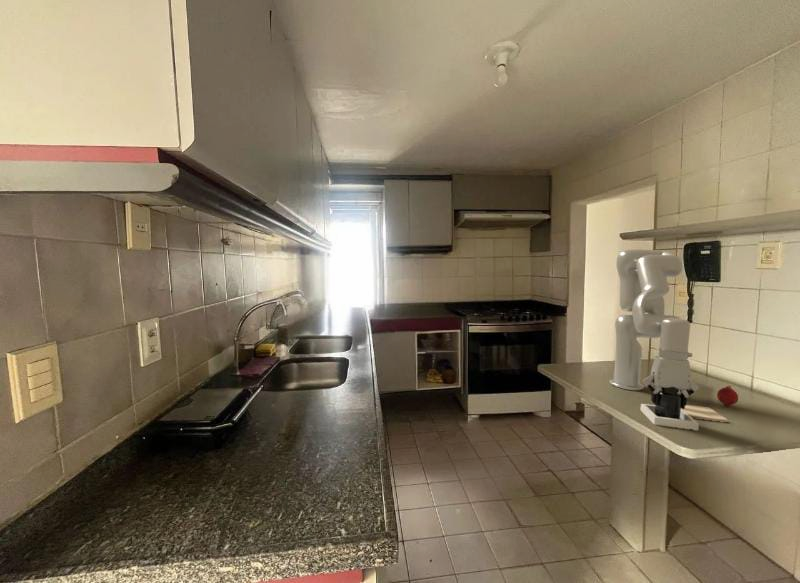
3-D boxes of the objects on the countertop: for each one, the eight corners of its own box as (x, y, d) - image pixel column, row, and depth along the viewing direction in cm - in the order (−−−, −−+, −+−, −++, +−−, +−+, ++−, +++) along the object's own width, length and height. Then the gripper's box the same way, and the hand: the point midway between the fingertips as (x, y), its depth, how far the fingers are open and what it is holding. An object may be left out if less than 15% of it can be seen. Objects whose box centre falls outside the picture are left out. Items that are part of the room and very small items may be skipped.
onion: (732, 410, 126) (734, 389, 125) (713, 404, 131) (715, 384, 130) (740, 407, 128) (742, 387, 127) (721, 402, 133) (723, 382, 133)
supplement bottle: (684, 424, 112) (687, 389, 111) (661, 422, 114) (664, 387, 113) (672, 415, 119) (675, 382, 118) (650, 413, 120) (653, 380, 119)
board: (670, 405, 129) (670, 402, 128) (709, 410, 125) (709, 407, 125) (685, 417, 118) (685, 414, 118) (727, 422, 115) (728, 420, 114)
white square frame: (640, 410, 123) (641, 403, 123) (679, 415, 120) (680, 408, 120) (654, 424, 112) (654, 417, 112) (698, 430, 108) (698, 423, 108)
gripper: (697, 354, 115) (692, 405, 117) (638, 349, 121) (634, 398, 122) (710, 360, 108) (705, 414, 110) (647, 355, 113) (642, 406, 115)
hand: (668, 405), depth 116 cm, fingers closed on supplement bottle, 6 cm apart
